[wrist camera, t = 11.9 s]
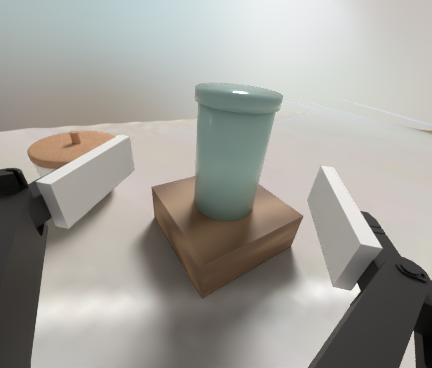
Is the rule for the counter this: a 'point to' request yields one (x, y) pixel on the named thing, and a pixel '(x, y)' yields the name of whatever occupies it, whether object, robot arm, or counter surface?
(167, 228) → the slab
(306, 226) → the counter surface
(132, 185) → the counter surface
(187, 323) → the counter surface
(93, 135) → the lidded jar
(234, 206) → the canister
